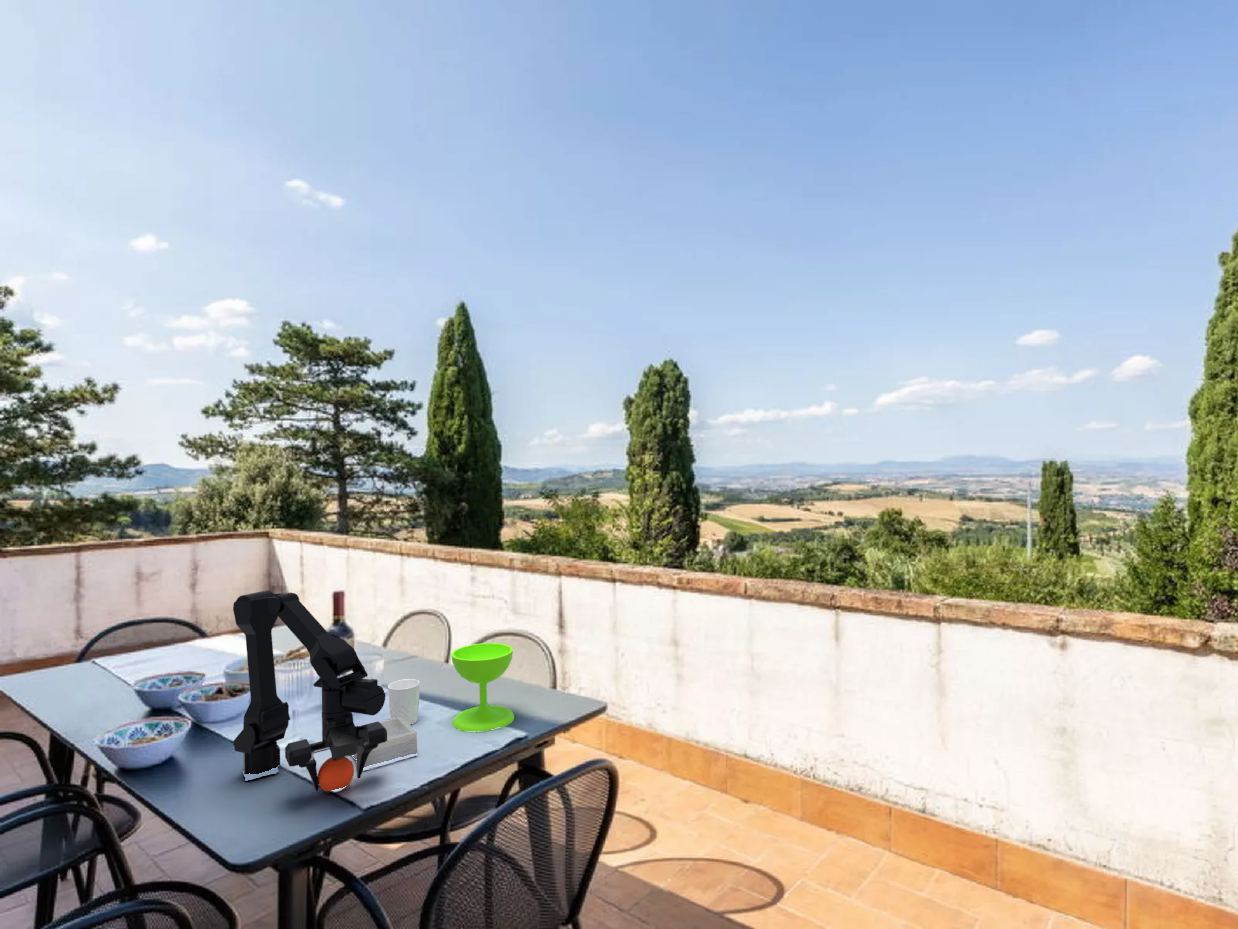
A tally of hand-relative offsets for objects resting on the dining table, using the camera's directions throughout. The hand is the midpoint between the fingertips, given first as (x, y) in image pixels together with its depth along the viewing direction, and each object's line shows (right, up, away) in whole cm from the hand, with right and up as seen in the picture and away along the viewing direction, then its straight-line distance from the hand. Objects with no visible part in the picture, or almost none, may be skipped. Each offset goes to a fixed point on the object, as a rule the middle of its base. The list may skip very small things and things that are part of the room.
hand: (338, 784), depth 129 cm
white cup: (+2, -2, +35) cm, 35 cm away
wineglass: (+23, -1, +35) cm, 42 cm away
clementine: (0, -1, 0) cm, 1 cm away
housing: (+3, -1, +16) cm, 16 cm away
